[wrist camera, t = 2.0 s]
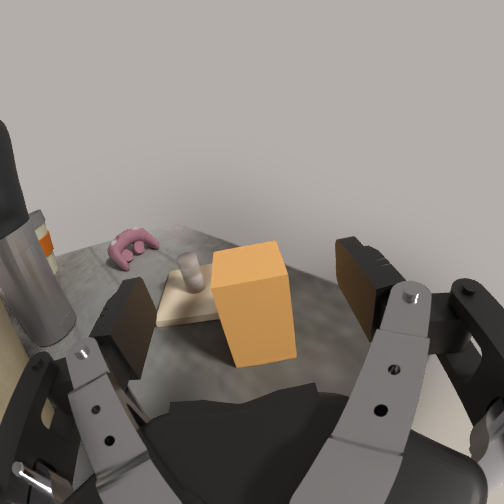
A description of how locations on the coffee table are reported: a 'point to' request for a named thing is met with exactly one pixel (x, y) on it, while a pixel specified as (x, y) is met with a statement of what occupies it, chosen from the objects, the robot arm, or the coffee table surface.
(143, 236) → the video game controller
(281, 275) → the tall orange pillar
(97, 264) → the coffee table surface
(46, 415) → the plant pot
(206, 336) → the coffee table surface
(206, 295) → the flat beige base block
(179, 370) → the coffee table surface
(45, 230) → the reusable coffee cup
